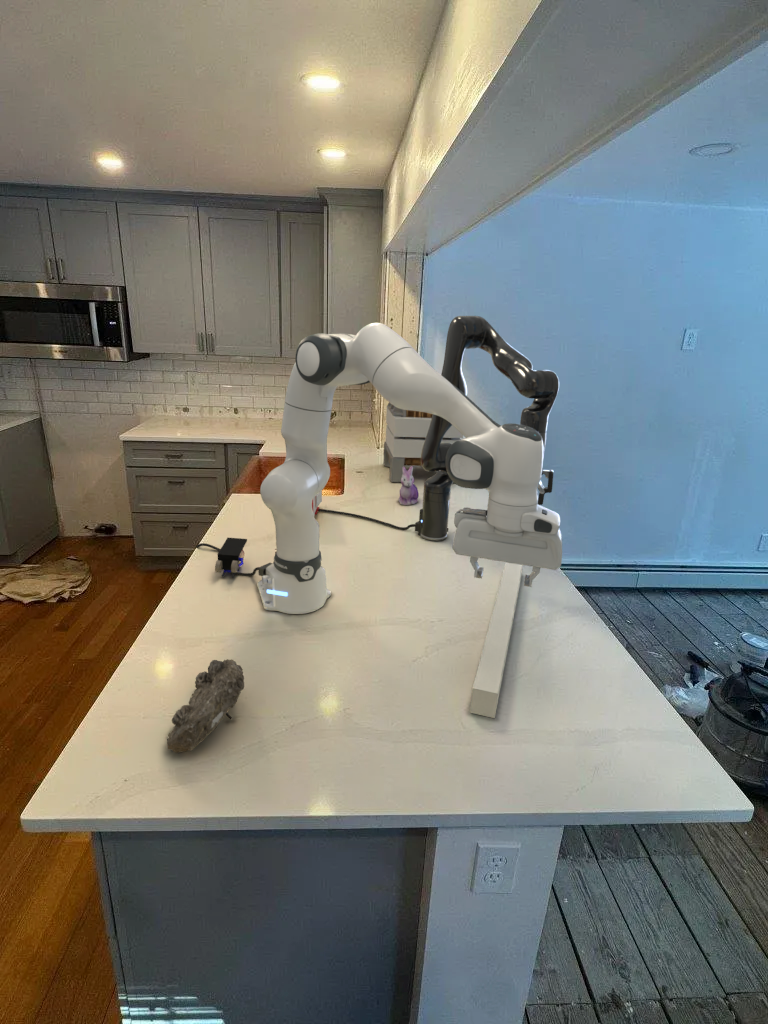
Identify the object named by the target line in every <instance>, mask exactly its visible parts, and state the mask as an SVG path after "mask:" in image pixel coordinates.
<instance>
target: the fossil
mask: <svg viewBox="0 0 768 1024" xmlns="http://www.w3.org/2000/svg"><path fill="white" fill-rule="evenodd" d="M243 670H244V669H243V667H242V665H240V664H237V662H236V661H235V660H234V659H232V658H231V659H227V658H226V659H224V660H223V661H222V660H217V659H212V660H211V661H210V663H209V665H208V666H207V671H201V672H199V673H198V674H197V675H196V676H195V680H194V684H195V685H194V687H195V689H194V690H193V693H192V694H191V697H190V698H189V700H188V704H184V705H182V706H181V707H180V709H177V710H176V711H175V713H174V715H173V716H172V718H171V723H172V724H173V727H172V730H171V731H170V732H168V734H167V738H166V741H167V742H166V745H167V749H168V750H169V751H173V752H174V753H176V754H178V753H182V752H188V751H189V752H192V751H193V750H195V748H196V747H197V746H199V744H200V743H201V742H203V741H204V740H205V739H206V738H207V737H208V736H209V735H210V734H211V733H212V732H214V730H215V729H217V727H218V726H219V724H220V722H221V721H222V720H223V719H224V718H225V716H226V717H227V719H229V720H233V717H232V715H230V714H229V710H230V709H231V708H234V706H235V704H236V703H237V702H238V699H239V697H240V695H241V693H242V691H243V690H245V689H244V688H245V675H244V671H243Z"/></svg>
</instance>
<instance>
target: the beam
mask: <svg viewBox="0 0 768 1024" xmlns="http://www.w3.org/2000/svg"><path fill="white" fill-rule="evenodd" d="M523 570H524V565H520V564H514V563H507V562H504V567H503V571H502V574H501V579H500V583H499V585H498V590H497V594H496V597H495V601H494V605H493V608H492V612H491V615H490V616H491V617H490V621H489V624H488V628H487V632H486V634H485V639H484V642H483V643H484V644H483V646H482V649H481V654H480V658H479V662H478V665H477V669H476V672H475V677H474V681H473V684H472V689H471V697H470V698H471V699H470V707H469V713H471V714H473V715H479V716H483V717H487V718H492V719H495V718H496V715H497V708H498V704H499V697H500V693H501V687H502V683H503V677H504V672H505V671H504V670H505V667H506V661H507V655H508V652H509V646H510V640H511V634H512V629H513V624H514V619H515V612H516V608H517V603H518V598H519V591H520V587H521V581H522V577H523V576H522V575H523Z"/></svg>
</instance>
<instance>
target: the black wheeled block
mask: <svg viewBox="0 0 768 1024" xmlns="http://www.w3.org/2000/svg"><path fill="white" fill-rule="evenodd" d="M247 542H248V538H240V537H226V539H225V541H224V543H223V544H222V546H221V547H220V548H219V549H220V551H218V552H217V560H216V562H215V564H214V572H215V573H221V577H222V578H224V577H225V576H226V574H227V573H230V572H233V574H232V573H230V574H231V578H234V577H235V573H236V572H239V571H240V567H242V566H243V565H244V564H245V562H244V558H245V551H244V547H245V546H246V544H247Z"/></svg>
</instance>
